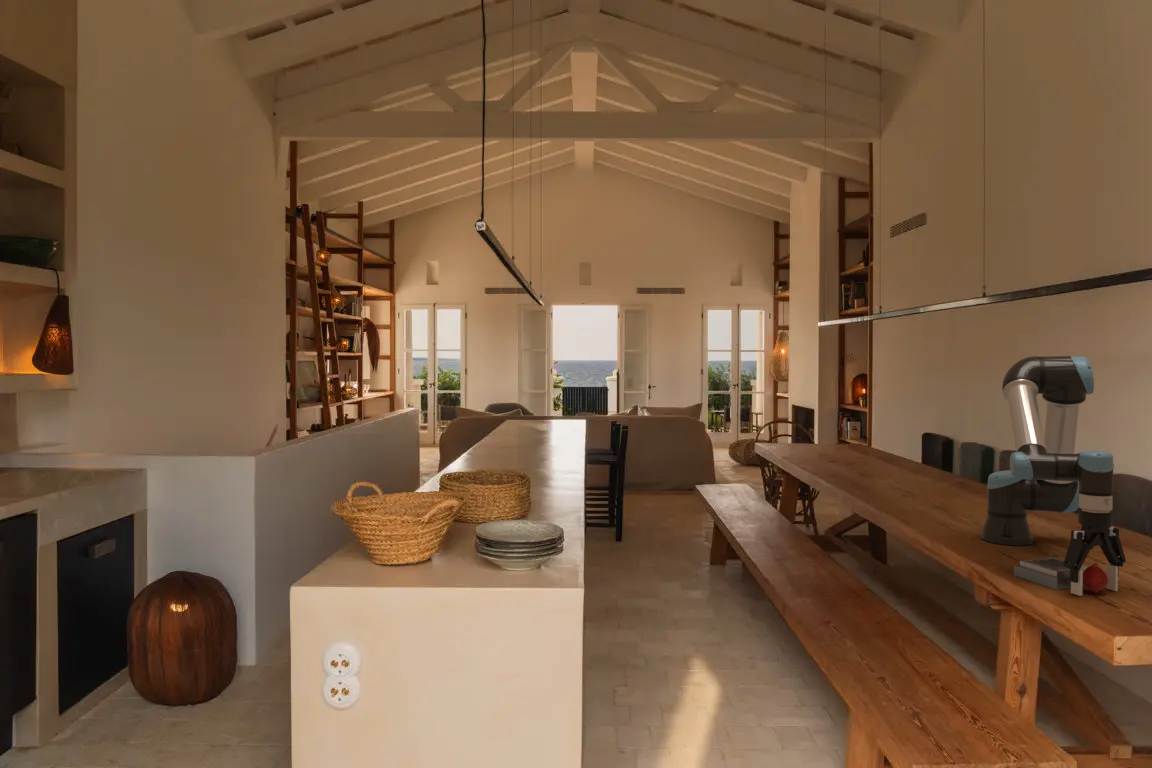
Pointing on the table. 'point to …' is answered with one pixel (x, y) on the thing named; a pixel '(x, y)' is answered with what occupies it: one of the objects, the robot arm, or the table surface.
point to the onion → (1094, 578)
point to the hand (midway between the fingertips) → (1094, 592)
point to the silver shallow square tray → (1045, 572)
